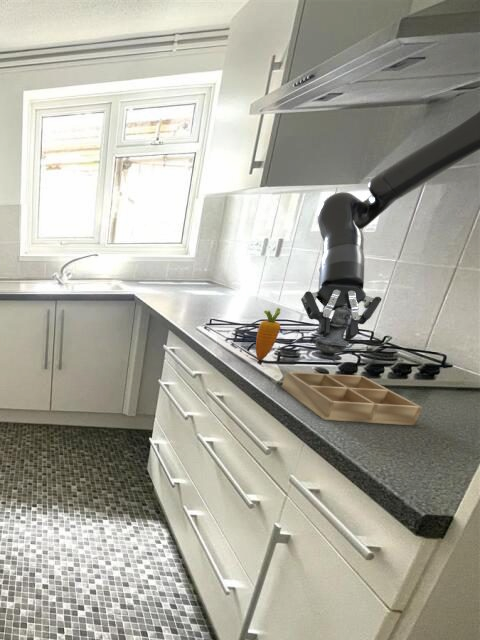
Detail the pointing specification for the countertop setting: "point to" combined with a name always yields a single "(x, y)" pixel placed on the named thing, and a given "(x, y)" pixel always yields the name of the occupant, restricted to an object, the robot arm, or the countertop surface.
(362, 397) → the wooden compartment tray
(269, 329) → the carrot
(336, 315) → the grey tall piece
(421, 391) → the countertop surface
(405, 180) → the robot arm
